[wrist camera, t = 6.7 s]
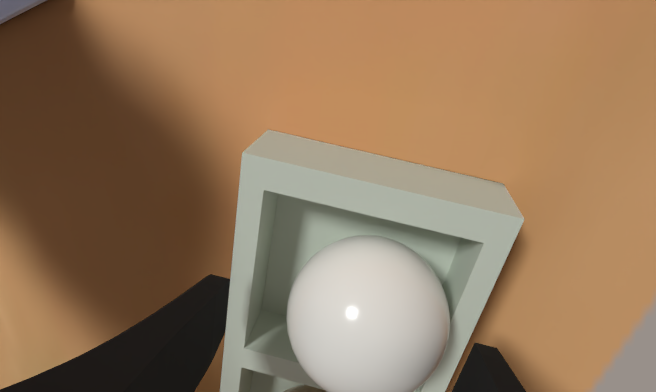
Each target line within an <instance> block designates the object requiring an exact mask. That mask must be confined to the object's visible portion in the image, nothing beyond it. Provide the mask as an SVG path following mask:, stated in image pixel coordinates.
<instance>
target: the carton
mask: <svg viewBox="0 0 656 392" xmlns="http://www.w3.org/2000/svg"><path fill="white" fill-rule="evenodd" d="M523 221H524V217H523V216H522V214H521V212H520V211H519V209H518V207H517V206H516V204H515V202H514V201H513V199H512V197H511V196H510V194H509V192H508V191H507V189H506V187H505V186H504V184H502V183H498V182H494V181H489V180H485V179H481V178H476V177H472V176H468V175H463V174H459V173H455V172H450V171H446V170H442V169H437V168H433V167H429V166H424V165H420V164H416V163H411V162H407V161H402V160H398V159H394V158H389V157H385V156H381V155H376V154H372V153H368V152H363V151H359V150H355V149H350V148H346V147H342V146H337V145H333V144H329V143H324V142H320V141H316V140H311V139H307V138H303V137H298V136H294V135H290V134H285V133H281V132H277V131H272V130H267V131H266V132H265V133H264V134H263V135H262V136H260V137H259V138H258V139H257V140H256V141H255V142H254V143H253V144H251V145H250V146H249V147H248V148H247V149H246V150H245V151H244V152H242V161H241V172H240V182H239V193H238V204H237V214H236V225H235V235H234V246H233V257H232V267H231V278H230V288H229V299H228V309H227V320H226V331H225V341H224V352H223V362H222V373H221V384H220V392H283V391H285V390H287V389H289V388H292V387H295V386H298V385H308V386H312V387H315V388H319V389H322V388H321V387H320V386H318V385H317V384H316V383H315V382H314V381H313V380H312V379H311V378H310V377H309V376H308V375H307V373H306V372H305V371H304V369H303V368H302V366H301V365H300V364H299V362H298V360H297V358H296V356H295V354H294V351H293V349H292V346H291V343H290V339H289V335H288V329H287V306H288V300H289V296H290V292H291V289H292V286H293V284H294V281H295V279H296V277H297V275H298V274H299V272H300V271H301V269H302V267H303V266H304V265H305V264H306V263H307V261H308V260H309V259H310V258H311V257H312V256H313V255H314V254H315V253H317V252H318V251H319V250H321V249H322V248H323V247H325V246H327V245H329V244H331V243H333V242H335V241H337V240H340V239H343V238H346V237H351V236H357V235H376V236H382V237H386V238H389V239H392V240H395V241H398V242H400V243H402V244H404V245H406V246H407V247H409V248H410V249H412V250H413V251H415V252H416V253H417V254H419V255H420V256H421V257H422V258H423V259H424V260H425V261H426V262H427V263H428V264H429V266H430V267H431V268H432V269H433V271H434V272H435V274H436V275H437V277H438V279H439V280H440V282H441V285H442V287H443V289H444V292H445V295H446V298H447V302H448V307H449V314H450V330H449V337H448V343H447V346H446V349H445V352H444V355H443V357H442V359H441V361H440V363H439V365H438V367H437V368H436V370H435V371H434V373H433V374H432V375H431V377H430V378H429V379H428V380H427V381H426V382H425V383H424V384H423V385H422V386H420V387H419V388H418V389H417V390H415V391H414V392H445V391H446V389H447V386H448V384H449V382H450V380H451V378H452V376H453V373H454V371H455V369H456V367H457V365H458V363H459V360H460V358H461V356H462V354H463V352H464V350H465V347H466V345H467V343H468V341H469V339H470V337H471V334H472V332H473V330H474V328H475V326H476V323H477V321H478V319H479V317H480V315H481V313H482V310H483V308H484V306H485V304H486V302H487V300H488V297H489V295H490V293H491V291H492V289H493V287H494V284H495V282H496V280H497V278H498V276H499V274H500V271H501V269H502V267H503V265H504V263H505V261H506V258H507V256H508V254H509V252H510V250H511V247H512V245H513V243H514V241H515V239H516V237H517V234H518V232H519V230H520V228H521V226H522V224H523ZM323 390H324V389H323Z"/></svg>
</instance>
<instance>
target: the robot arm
mask: <svg viewBox="0 0 656 392" xmlns="http://www.w3.org/2000/svg"><path fill="white" fill-rule="evenodd" d="M45 1H47V0H0V24H1V23H3V22H5V21H7V20H9V19H11V18H13V17H15V16H17V15H19V14H21V13H23V12H25V11H27V10H29V9H31V8H33V7H35V6H37V5H39V4H41V3H43V2H45ZM229 287H230V279H227V278H223V277H219V276H215V275H212V274H210V275H208V276H207V277H205V278H204V279H202V280H201V281H200V282H198V283H197V284H195V285H194V286H193V287H191V288H190V289H189V290H187V291H186V292H184V293H183V294H181V295H180V296H179V297H177V298H176V299H174V300H173V301H171V302H170V303H168V304H167V305H165V306H164V307H163V308H161V309H160V310H158V311H157V312H155V313H154V314H152V315H150V316H149V317H147V318H146V319H144V320H143V321H141V322H139V323H138V324H136V325H134V326H133V327H131V328H129V329H128V330H126V331H124V332H123V333H121V334H119V335H118V336H116V337H114V338H112V339H111V340H109V341H107V342H105V343H103V344H101V345H100V346H98V347H96V348H94V349H92V350H90V351H88V352H86V353H84V354H82V355H80V356H78V357H76V358H74V359H72V360H70V361H67V362H65V363H63V364H61V365H59V366H56V367H54V368H52V369H49V370H47V371H45V372H43V373H40V374H38V375H36V376H34V377H31V378H29V379H26V380H24V381H21V382H19V383H16V384H14V385H11V386H9V387H6V388H3V389H1V390H0V392H194V391H195V389H196V388H197V386H198V384H199V383H200V381H201V379H202V378H203V376H204V374H205V372H206V371H207V369H208V367H209V366H210V364H211V362H212V360H213V358H214V355H215V353H216V351H217V349H218V347H219V344H220V342H221V340H222V338H223V335H224V333H225V330H226V319H227V309H228V298H229ZM452 392H526V391H525V389H524V388H523V386H522V385H521V383H520V382H519V381H518V379H517V378H516V376H515V374H514V373H513V371H512V370H511V368H510V367H509V365H508V364H507V362H506V361H505V359H504V358H503V356H502V355H501V354H500V352H499V351H498V349H497V348H494V347H490V346H486V345H482V344H478V343H475V344H474V346H473V348H472V350H471V352H470V354H469V356H468V358H467V361H466V363H465V365H464V367H463V369H462V371H461V373H460V375H459V378H458V380H457V382H456V384H455V386H454V388H453V390H452Z"/></svg>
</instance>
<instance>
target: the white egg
mask: <svg viewBox="0 0 656 392" xmlns="http://www.w3.org/2000/svg"><path fill="white" fill-rule="evenodd" d="M287 329H288V335H289V339H290V343H291V346H292V349H293V351H294V354H295V356H296V358H297V360H298V362H299V364H300V365H301V366H302V368H303V369H304V371H305V372H306V373H307V375H308V376H309V377H310V378H311V379H312V380H313V381H314V382H315V383H316V384H317V385H318V386H320V387H321V388H322V389H324V390H325V391H327V392H414V391H415V390H417V389H418V388H419V387H420V386H422V385H423V384H424V383H425V382H426V381H427V380H428V379H429V378H430V377H431V375H432V374H433V373H434V371H435V370H436V368H437V367H438V365H439V363H440V361H441V359H442V357H443V355H444V352H445V349H446V346H447V343H448V337H449V330H450V314H449V307H448V302H447V298H446V295H445V292H444V289H443V287H442V285H441V282H440V280H439V279H438V277H437V275H436V274H435V272H434V271H433V269H432V268H431V267H430V266H429V264H428V263H427V262H426V261H425V260H424V259H423V258H422V257H421V256H420V255H419V254H417V253H416V252H415V251H413V250H412V249H410V248H409V247H407V246H406V245H404V244H402V243H400V242H398V241H395V240H392V239H389V238H386V237H382V236H376V235H357V236H351V237H346V238H343V239H340V240H337V241H335V242H333V243H331V244H329V245H327V246H325V247H323V248H322V249H321V250H319V251H318V252H317V253H315V254H314V255H313V256H312V257H311V258H310V259H309V260H308V261H307V263H306V264H305V265H304V266H303V267H302V269H301V271H300V272H299V274H298V275H297V277H296V279H295V281H294V284H293V286H292V289H291V292H290V296H289V300H288V306H287Z"/></svg>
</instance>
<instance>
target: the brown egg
mask: <svg viewBox="0 0 656 392" xmlns="http://www.w3.org/2000/svg"><path fill="white" fill-rule="evenodd" d="M283 392H327V391H325V390H323V389H319V388H315V387H312V386H308V385H298V386H295V387H292V388H289V389H287V390H285V391H283Z"/></svg>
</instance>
